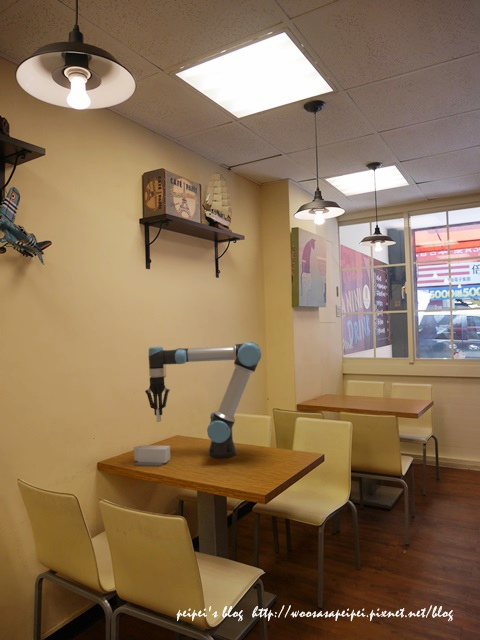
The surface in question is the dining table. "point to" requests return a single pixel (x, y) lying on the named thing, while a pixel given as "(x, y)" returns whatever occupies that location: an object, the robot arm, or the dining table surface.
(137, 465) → the mat
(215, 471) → the dining table surface
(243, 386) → the robot arm
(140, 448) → the milk carton
